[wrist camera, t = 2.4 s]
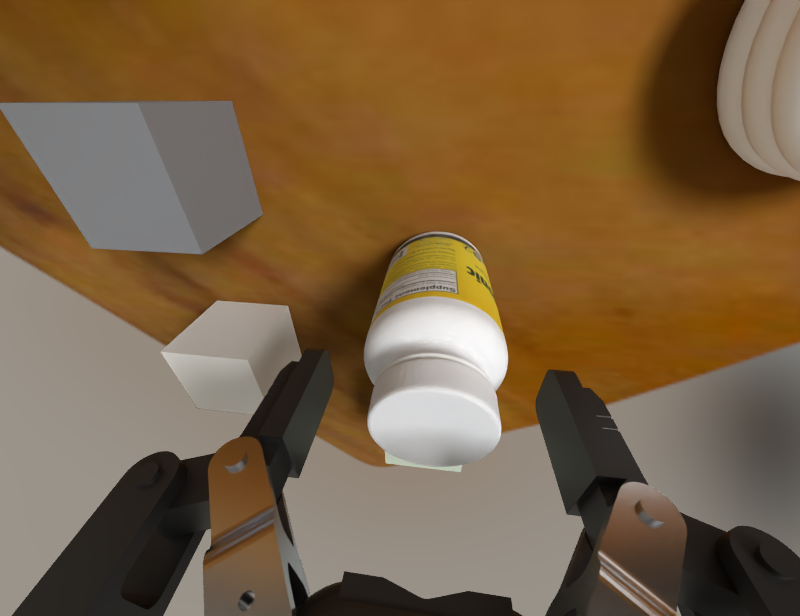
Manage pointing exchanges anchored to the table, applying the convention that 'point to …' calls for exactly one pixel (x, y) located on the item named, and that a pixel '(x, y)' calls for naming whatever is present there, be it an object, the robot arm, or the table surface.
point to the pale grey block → (233, 354)
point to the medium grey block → (143, 170)
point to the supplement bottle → (436, 355)
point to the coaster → (763, 86)
